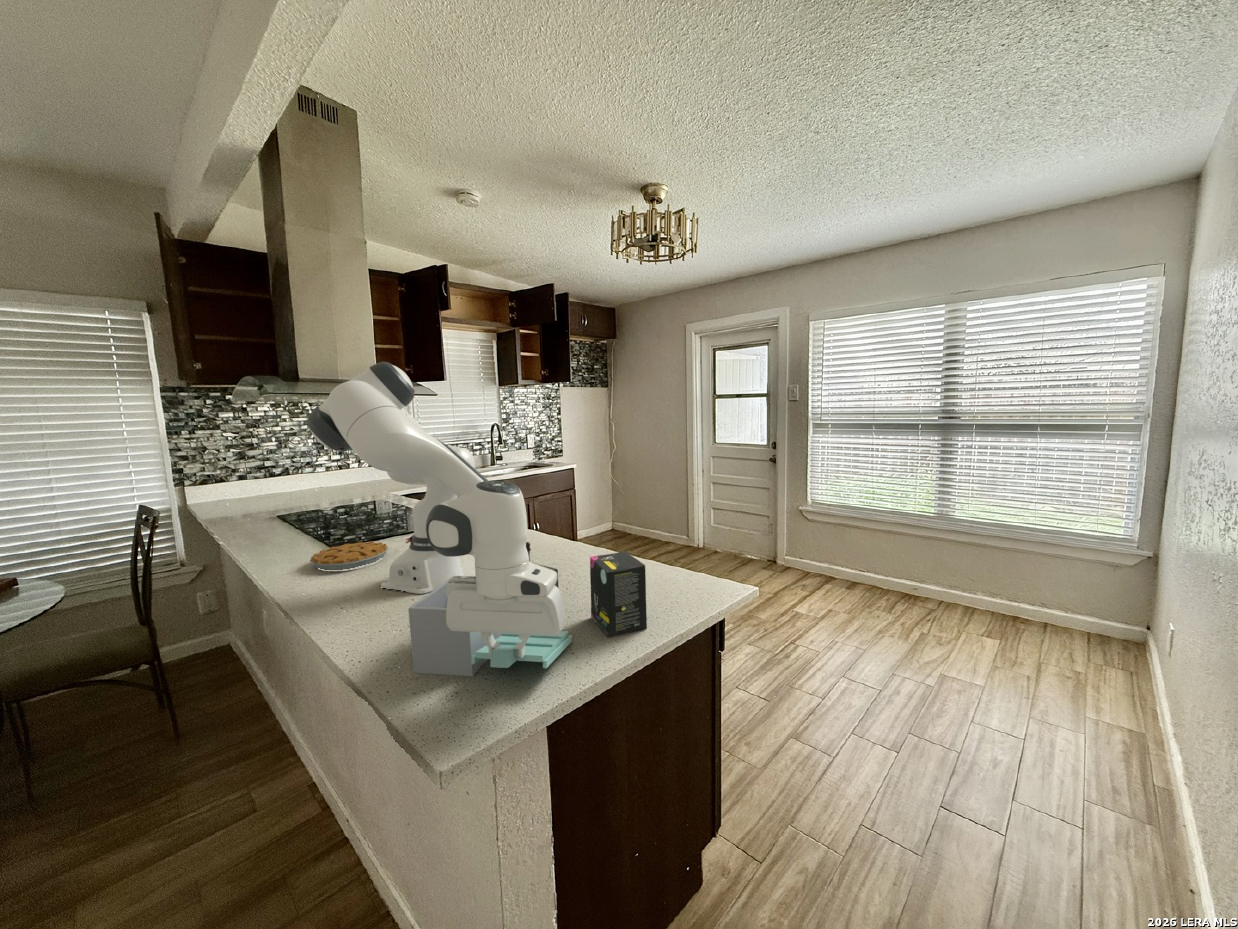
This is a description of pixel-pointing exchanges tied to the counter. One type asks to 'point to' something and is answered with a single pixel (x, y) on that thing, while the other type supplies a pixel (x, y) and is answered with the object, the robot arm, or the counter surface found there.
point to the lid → (535, 648)
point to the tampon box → (618, 593)
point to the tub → (441, 639)
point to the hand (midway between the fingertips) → (507, 655)
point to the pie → (349, 555)
